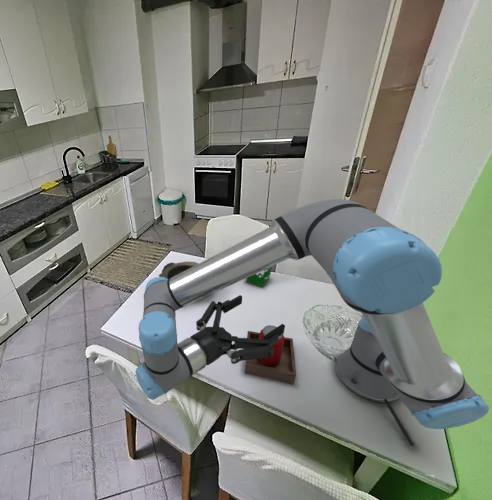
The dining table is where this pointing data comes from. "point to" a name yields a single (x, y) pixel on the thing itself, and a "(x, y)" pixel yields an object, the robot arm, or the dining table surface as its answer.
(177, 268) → the stone bowl
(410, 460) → the dining table surface
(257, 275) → the milk carton
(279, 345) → the beverage can
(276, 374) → the holder
